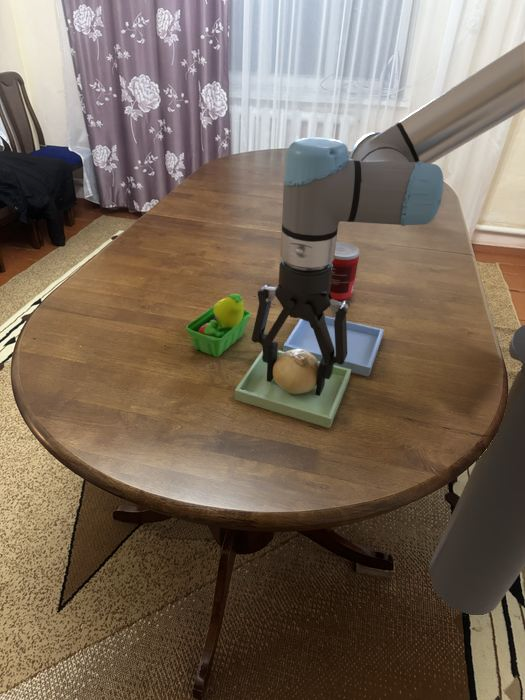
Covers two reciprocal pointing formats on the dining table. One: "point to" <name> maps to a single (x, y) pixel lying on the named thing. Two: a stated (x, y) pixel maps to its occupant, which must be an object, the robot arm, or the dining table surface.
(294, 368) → the onion
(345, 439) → the dining table surface
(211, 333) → the fruit basket
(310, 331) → the blue tray
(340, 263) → the canned food
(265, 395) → the green tray
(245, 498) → the dining table surface
